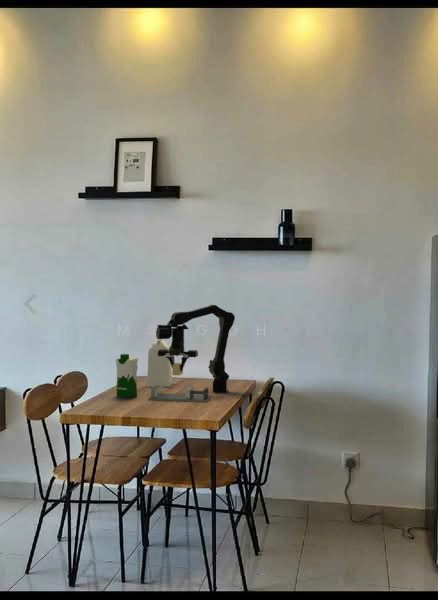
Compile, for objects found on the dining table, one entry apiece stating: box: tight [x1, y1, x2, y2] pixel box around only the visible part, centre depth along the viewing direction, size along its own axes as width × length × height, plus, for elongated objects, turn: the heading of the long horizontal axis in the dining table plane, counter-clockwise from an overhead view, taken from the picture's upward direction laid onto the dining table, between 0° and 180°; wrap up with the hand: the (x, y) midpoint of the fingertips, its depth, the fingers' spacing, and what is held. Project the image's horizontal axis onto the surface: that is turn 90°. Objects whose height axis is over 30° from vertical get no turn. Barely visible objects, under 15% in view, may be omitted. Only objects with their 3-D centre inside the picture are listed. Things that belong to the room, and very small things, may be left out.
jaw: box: [184, 385, 209, 399], centre depth 283 cm, size 9×10×4 cm
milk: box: [146, 339, 173, 388], centre depth 321 cm, size 12×12×26 cm
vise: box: [147, 385, 212, 403], centre depth 285 cm, size 27×12×5 cm, turn 81°
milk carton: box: [115, 353, 139, 399], centre depth 288 cm, size 9×9×20 cm
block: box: [171, 362, 184, 376], centre depth 295 cm, size 4×7×5 cm, turn 170°
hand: (177, 371), depth 295 cm, fingers closed on block, 3 cm apart
